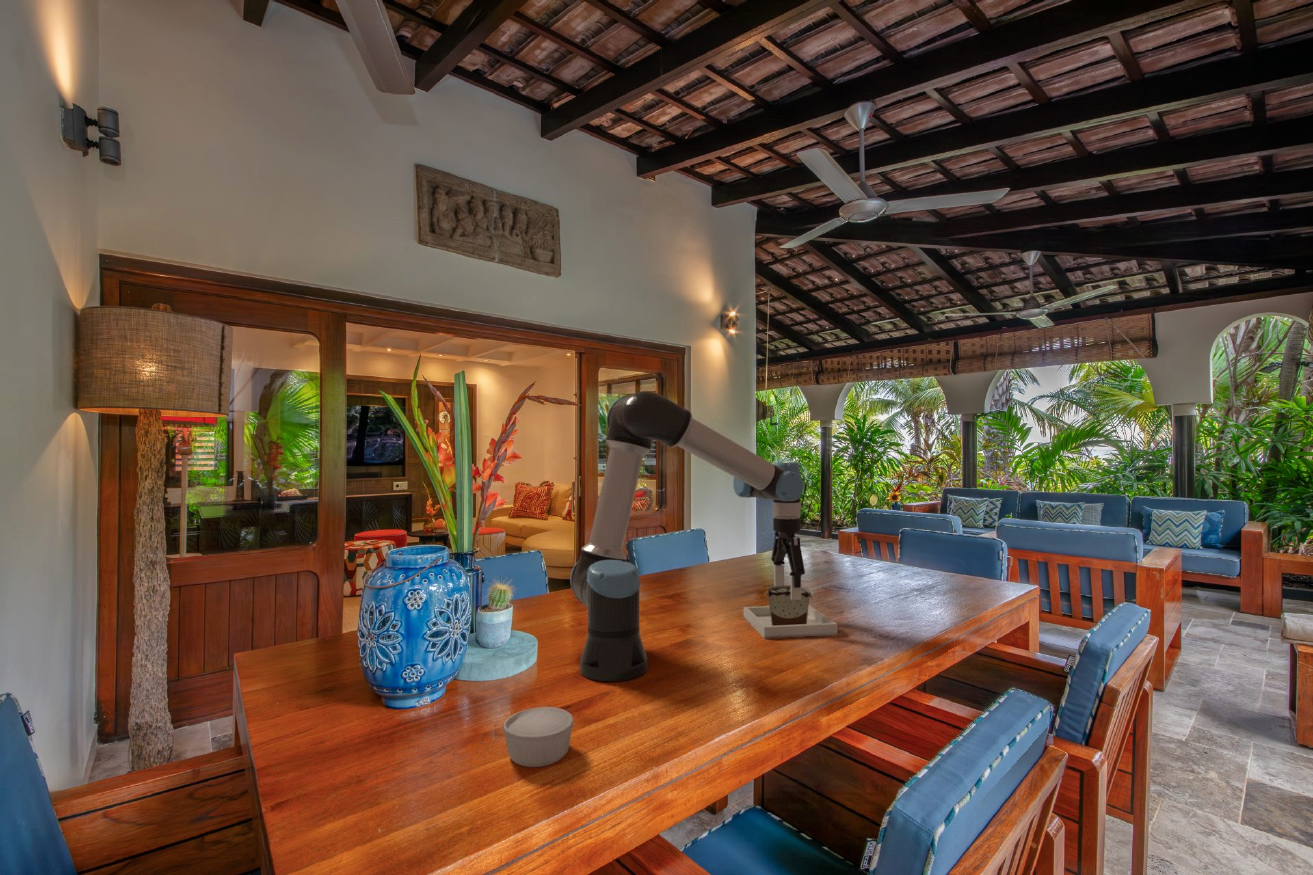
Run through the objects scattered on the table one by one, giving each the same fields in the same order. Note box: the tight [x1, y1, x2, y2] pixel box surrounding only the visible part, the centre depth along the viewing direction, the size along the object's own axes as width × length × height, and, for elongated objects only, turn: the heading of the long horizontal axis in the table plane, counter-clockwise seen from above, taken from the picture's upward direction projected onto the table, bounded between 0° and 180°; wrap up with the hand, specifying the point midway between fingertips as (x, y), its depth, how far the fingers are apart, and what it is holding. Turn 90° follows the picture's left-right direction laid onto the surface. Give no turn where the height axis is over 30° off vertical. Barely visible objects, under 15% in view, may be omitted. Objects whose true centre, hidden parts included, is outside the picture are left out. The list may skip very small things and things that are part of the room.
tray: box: [743, 604, 839, 640], centre depth 164 cm, size 20×20×3 cm
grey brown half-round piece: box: [765, 585, 812, 626], centre depth 164 cm, size 12×6×10 cm, turn 85°
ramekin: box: [503, 706, 574, 768], centre depth 95 cm, size 11×11×5 cm
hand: (787, 593), depth 164 cm, fingers open, 13 cm apart
